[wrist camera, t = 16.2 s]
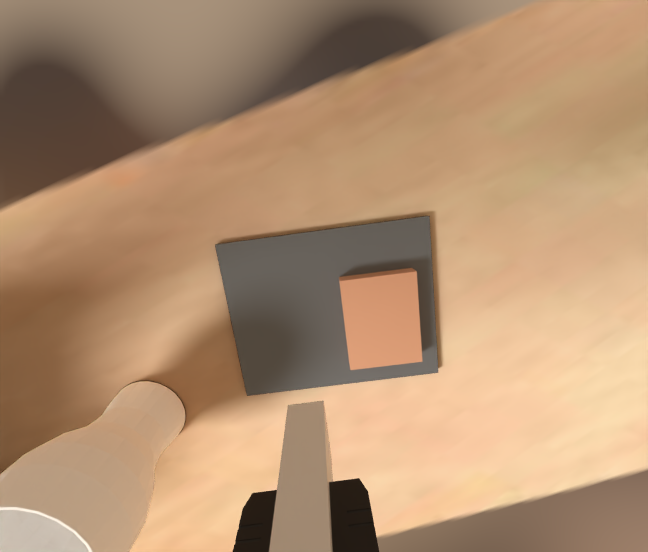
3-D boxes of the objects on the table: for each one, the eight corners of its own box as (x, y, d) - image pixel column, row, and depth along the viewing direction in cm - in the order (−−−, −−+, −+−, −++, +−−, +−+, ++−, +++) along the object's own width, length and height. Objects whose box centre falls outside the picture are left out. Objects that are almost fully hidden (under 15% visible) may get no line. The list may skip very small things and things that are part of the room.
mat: (248, 392, 34) (247, 395, 33) (217, 244, 30) (214, 244, 30) (436, 369, 34) (438, 372, 33) (427, 215, 30) (429, 216, 29)
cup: (168, 353, 33) (46, 474, 18) (216, 435, 35) (141, 600, 21) (80, 389, 34) (-103, 532, 19) (132, 466, 36) (3, 647, 22)
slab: (350, 370, 31) (422, 361, 31) (339, 281, 29) (416, 271, 29) (349, 362, 33) (417, 353, 32) (338, 277, 31) (411, 267, 30)
